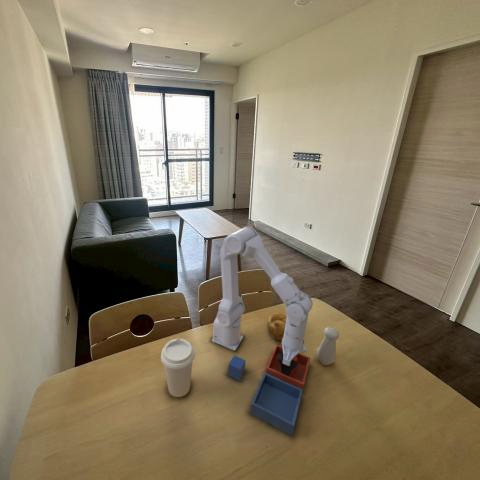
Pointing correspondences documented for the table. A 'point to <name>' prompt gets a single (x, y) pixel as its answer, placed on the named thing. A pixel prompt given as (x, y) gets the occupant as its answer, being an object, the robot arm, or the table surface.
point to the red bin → (300, 370)
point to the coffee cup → (178, 366)
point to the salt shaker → (328, 347)
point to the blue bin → (277, 403)
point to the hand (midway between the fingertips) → (288, 365)
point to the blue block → (236, 368)
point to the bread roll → (277, 325)
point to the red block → (292, 370)
